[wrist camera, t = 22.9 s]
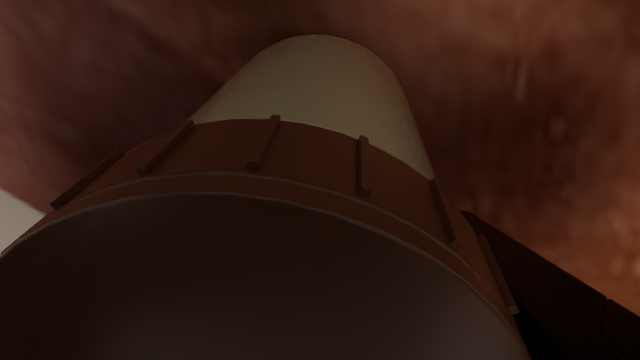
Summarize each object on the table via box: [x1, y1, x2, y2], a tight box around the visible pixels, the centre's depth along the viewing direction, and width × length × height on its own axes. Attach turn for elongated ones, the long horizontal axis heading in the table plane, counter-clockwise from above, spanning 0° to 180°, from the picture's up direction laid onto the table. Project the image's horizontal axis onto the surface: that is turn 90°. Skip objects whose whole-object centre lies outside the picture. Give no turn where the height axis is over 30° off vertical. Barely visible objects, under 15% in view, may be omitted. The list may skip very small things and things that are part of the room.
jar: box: [188, 34, 436, 181], centre depth 10 cm, size 6×6×9 cm
